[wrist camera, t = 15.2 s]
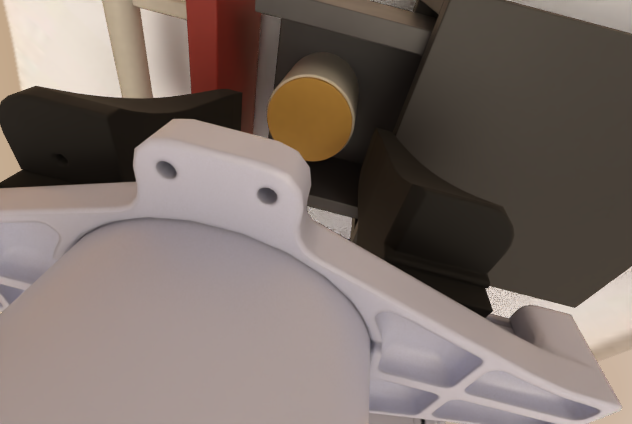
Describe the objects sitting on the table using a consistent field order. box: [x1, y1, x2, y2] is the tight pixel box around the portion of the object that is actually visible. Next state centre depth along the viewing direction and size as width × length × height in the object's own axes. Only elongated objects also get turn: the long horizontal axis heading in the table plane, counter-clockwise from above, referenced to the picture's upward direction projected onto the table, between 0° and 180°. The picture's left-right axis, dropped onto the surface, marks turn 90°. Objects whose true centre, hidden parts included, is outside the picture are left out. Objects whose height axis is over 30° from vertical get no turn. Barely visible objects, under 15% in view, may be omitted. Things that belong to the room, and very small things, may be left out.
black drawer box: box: [350, 0, 632, 308], centre depth 16 cm, size 13×12×8 cm
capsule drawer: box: [102, 0, 437, 219], centre depth 16 cm, size 16×10×6 cm, turn 78°
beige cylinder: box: [267, 52, 359, 161], centre depth 15 cm, size 4×4×4 cm
